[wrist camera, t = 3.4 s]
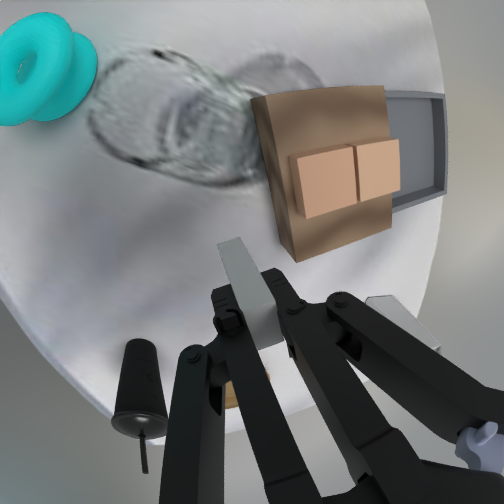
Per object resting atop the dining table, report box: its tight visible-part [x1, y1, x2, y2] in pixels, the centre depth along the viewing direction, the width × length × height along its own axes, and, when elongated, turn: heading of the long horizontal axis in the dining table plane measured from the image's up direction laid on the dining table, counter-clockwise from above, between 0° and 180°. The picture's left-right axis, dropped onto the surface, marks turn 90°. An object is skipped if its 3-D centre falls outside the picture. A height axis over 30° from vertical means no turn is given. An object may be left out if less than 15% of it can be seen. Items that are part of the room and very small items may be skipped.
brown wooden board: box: [251, 86, 392, 263], centre depth 28 cm, size 18×14×5 cm
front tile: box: [288, 144, 357, 219], centre depth 25 cm, size 6×6×2 cm
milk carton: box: [365, 296, 442, 356], centre depth 39 cm, size 7×7×19 cm
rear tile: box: [345, 137, 400, 202], centre depth 26 cm, size 6×6×2 cm
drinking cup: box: [111, 339, 169, 474], centre depth 28 cm, size 8×8×20 cm
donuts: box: [0, 12, 97, 126], centre depth 13 cm, size 10×10×10 cm
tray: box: [385, 91, 448, 213], centre depth 31 cm, size 17×15×3 cm
